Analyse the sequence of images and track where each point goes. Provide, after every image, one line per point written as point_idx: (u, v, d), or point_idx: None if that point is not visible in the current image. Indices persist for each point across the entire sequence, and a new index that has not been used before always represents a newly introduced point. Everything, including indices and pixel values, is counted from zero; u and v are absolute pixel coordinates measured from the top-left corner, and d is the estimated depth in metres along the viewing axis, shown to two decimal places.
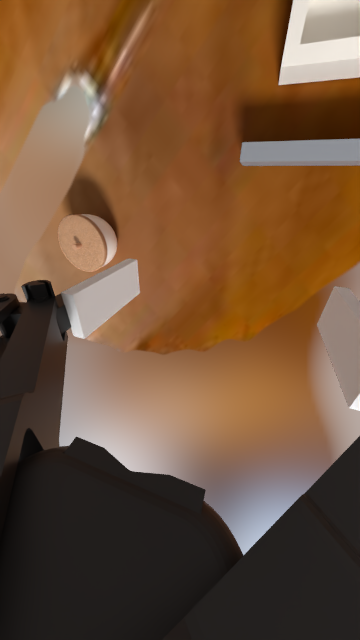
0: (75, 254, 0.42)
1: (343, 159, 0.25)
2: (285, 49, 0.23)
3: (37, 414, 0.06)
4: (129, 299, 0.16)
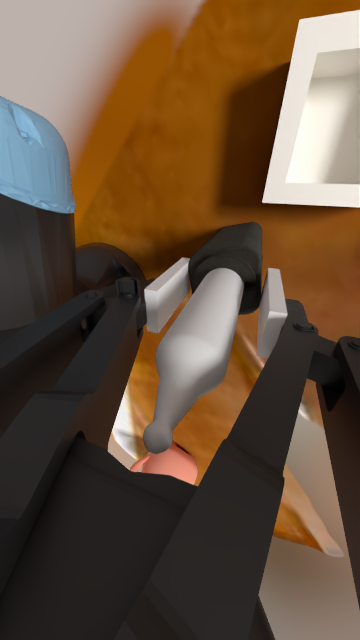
0: None
1: None
2: None
3: (92, 415, 0.06)
4: (184, 296, 0.16)
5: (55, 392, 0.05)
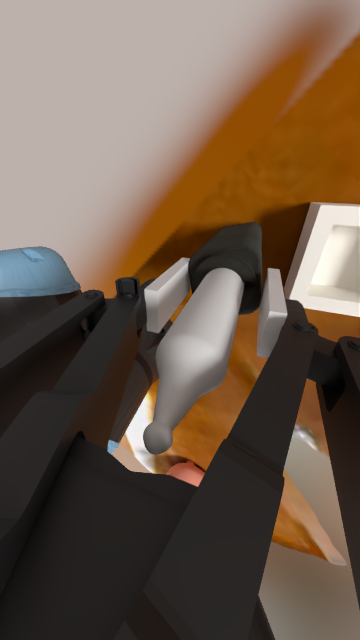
0: None
1: None
2: None
3: (92, 416, 0.06)
4: (184, 296, 0.16)
5: (55, 392, 0.05)
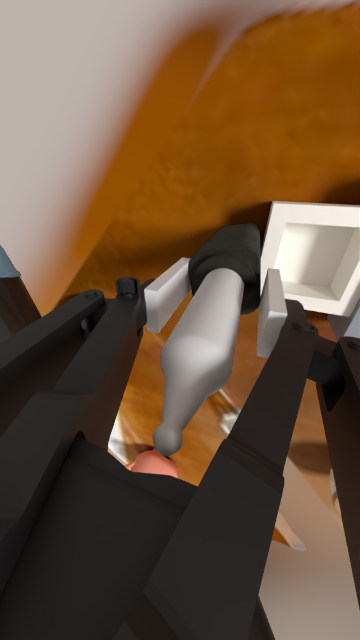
0: None
1: None
2: (336, 313, 0.22)
3: (92, 416, 0.06)
4: (184, 296, 0.16)
5: (55, 392, 0.05)
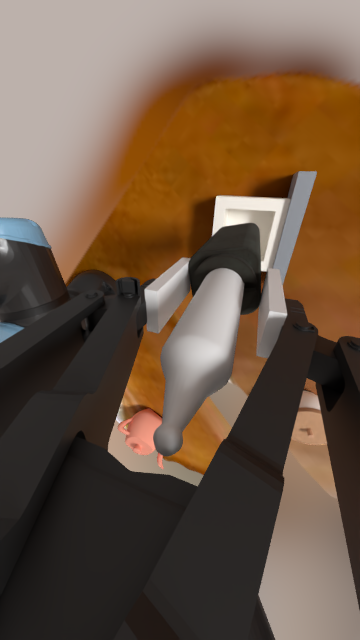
0: (316, 437, 0.44)
1: (304, 209, 0.27)
2: (263, 270, 0.34)
3: (92, 416, 0.06)
4: (184, 296, 0.16)
5: (55, 392, 0.05)
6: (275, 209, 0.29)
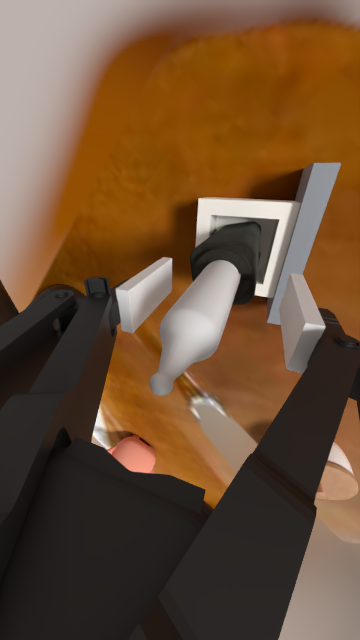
0: (328, 491, 0.36)
1: (320, 216, 0.19)
2: (262, 295, 0.26)
3: (74, 412, 0.06)
4: (164, 296, 0.16)
5: (32, 393, 0.05)
6: (279, 216, 0.21)
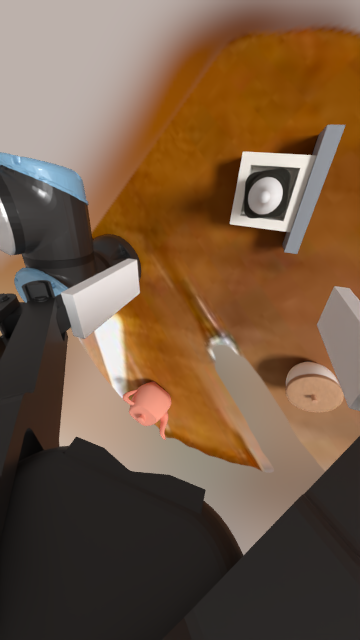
0: (319, 403, 0.46)
1: (329, 164, 0.29)
2: (282, 230, 0.35)
3: (37, 414, 0.06)
4: (129, 299, 0.16)
5: None
6: (300, 165, 0.30)
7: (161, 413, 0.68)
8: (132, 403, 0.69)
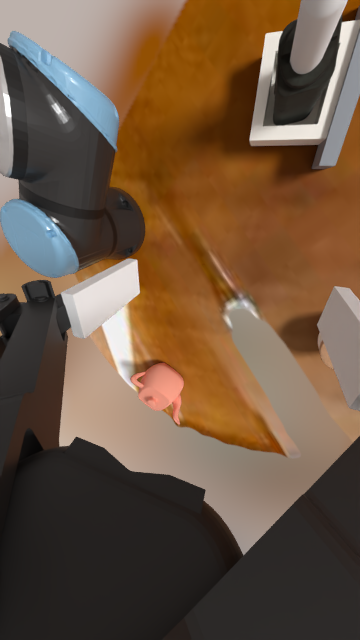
0: None
1: None
2: (315, 137, 0.29)
3: (37, 414, 0.06)
4: (129, 299, 0.16)
5: None
6: (340, 39, 0.24)
7: (174, 394, 0.62)
8: (141, 385, 0.63)
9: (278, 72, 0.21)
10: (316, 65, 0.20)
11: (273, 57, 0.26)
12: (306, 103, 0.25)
